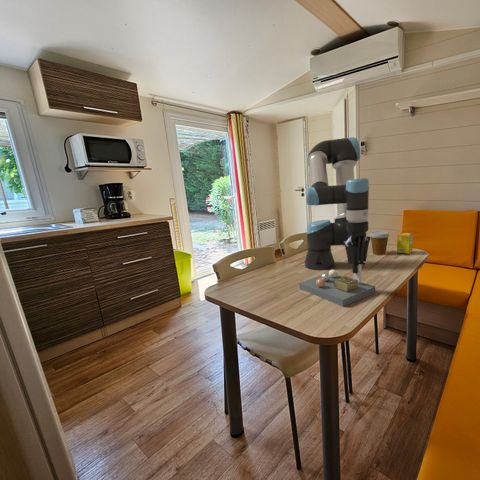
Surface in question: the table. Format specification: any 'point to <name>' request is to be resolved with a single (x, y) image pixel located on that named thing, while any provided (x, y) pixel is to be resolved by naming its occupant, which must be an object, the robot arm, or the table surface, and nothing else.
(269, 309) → the table surface
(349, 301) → the slate plate
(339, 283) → the brass cover
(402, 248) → the supplement box
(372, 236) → the disposable coffee cup
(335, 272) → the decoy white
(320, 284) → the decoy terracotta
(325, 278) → the steel ball
